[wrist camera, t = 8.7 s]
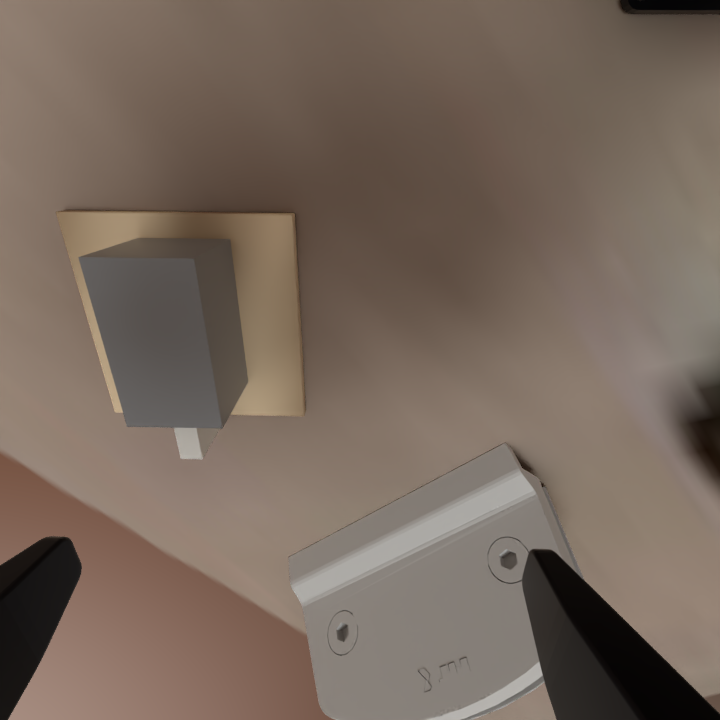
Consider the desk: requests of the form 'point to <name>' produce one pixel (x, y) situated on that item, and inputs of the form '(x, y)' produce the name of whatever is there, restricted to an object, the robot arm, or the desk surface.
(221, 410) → the plug
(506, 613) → the hinge
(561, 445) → the desk surface
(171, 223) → the coaster
